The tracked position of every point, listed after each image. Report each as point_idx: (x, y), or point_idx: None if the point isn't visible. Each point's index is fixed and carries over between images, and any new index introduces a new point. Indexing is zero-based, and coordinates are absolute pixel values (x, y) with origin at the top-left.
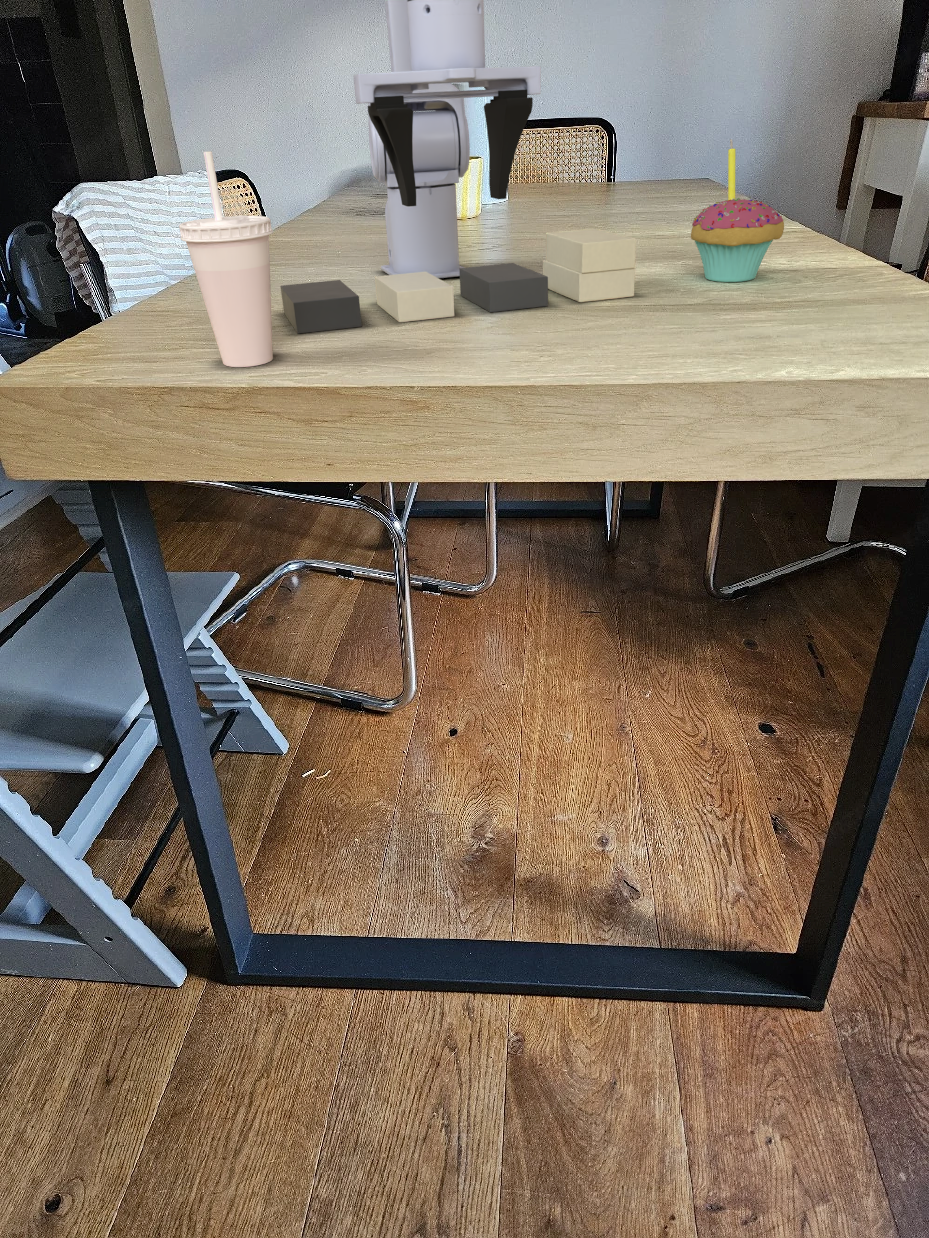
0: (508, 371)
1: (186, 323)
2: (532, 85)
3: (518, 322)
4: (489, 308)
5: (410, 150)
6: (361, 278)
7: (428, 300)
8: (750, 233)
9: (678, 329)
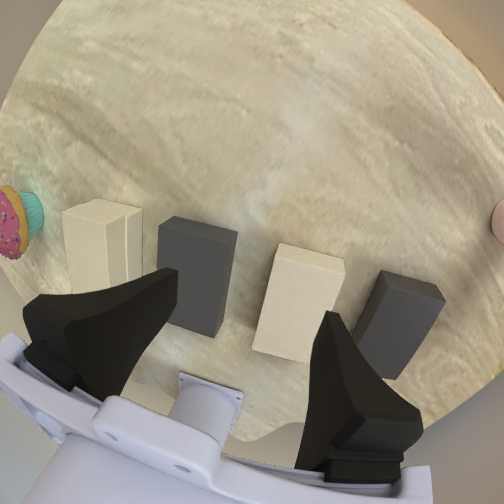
0: (354, 7)
1: (450, 374)
2: (10, 347)
3: (237, 167)
4: (236, 234)
5: (343, 364)
6: (258, 422)
7: (308, 258)
8: (6, 189)
9: (138, 53)
